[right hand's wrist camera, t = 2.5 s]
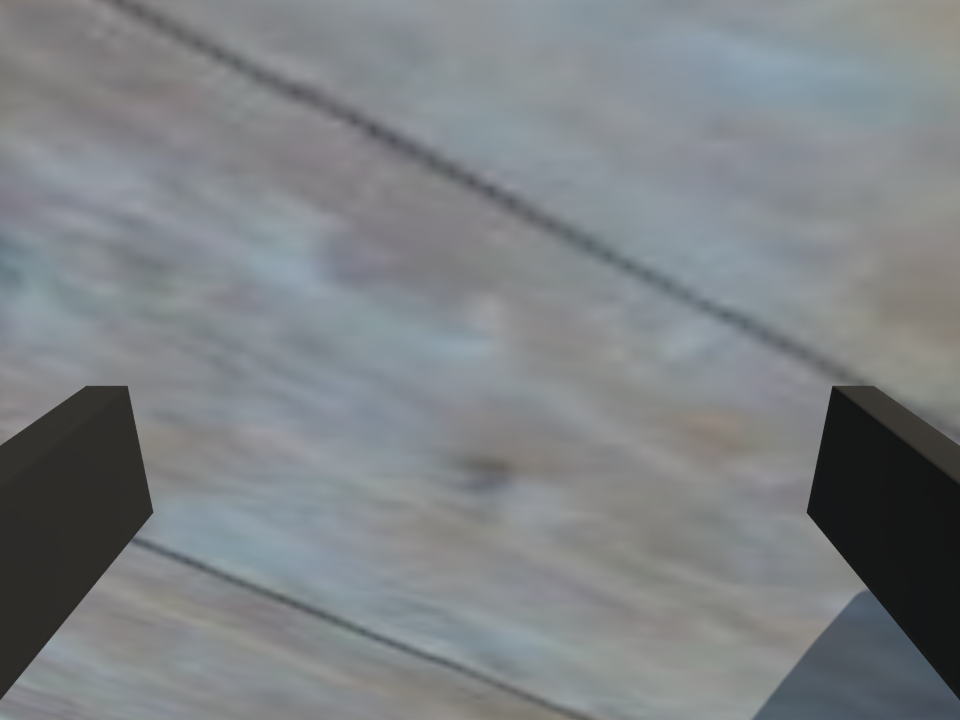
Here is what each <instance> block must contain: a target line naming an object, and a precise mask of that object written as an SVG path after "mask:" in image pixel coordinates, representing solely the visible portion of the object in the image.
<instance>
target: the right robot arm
mask: <svg viewBox="0 0 960 720" xmlns="http://www.w3.org/2000/svg"><path fill="white" fill-rule="evenodd" d="M152 514H153V509H152V504H151V499H150V494H149V489H148V484H147V479H146V474H145V469H144V465H143V460H142V455H141V450H140V445H139V440H138V435H137V430H136V425H135V420H134V415H133V411H132V406H131V401H130V396H129V391H128V386H86V387H84V388H83V389H81V390H80V391H78V392H77V393H76V394H74V395H73V396H71V397H70V398H68V399H67V400H65V401H64V402H63V403H61V404H60V405H58V406H57V407H55V408H54V409H52V410H51V411H50V412H48V413H47V414H45V415H44V416H42V417H41V418H40V419H38V420H37V421H35V422H34V423H32V424H31V425H29V426H28V427H27V428H25V429H24V430H22V431H21V432H19V433H18V434H17V435H15V436H14V437H12V438H11V439H9V440H8V441H6V442H5V443H4V444H2V445H1V446H0V700H1V698H2V697H3V696H4V695H5V694H6V692H7V691H8V690H9V689H10V687H11V686H12V685H13V684H14V683H15V681H16V680H17V679H18V678H19V676H20V675H21V674H22V673H23V672H24V670H25V669H26V668H27V667H28V665H29V664H30V663H31V662H32V660H33V659H34V658H35V657H36V656H37V654H38V653H39V652H40V651H41V649H42V648H43V647H44V646H45V645H46V643H47V642H48V641H49V640H50V638H51V637H52V636H53V635H54V634H55V632H56V631H57V630H58V629H59V627H60V626H61V625H62V624H63V623H64V621H65V620H66V619H67V618H68V616H69V615H70V614H71V613H72V612H73V610H74V609H75V608H76V607H77V605H78V604H79V603H80V602H81V600H82V599H83V598H84V597H85V596H86V594H87V593H88V592H89V591H90V589H91V588H92V587H93V586H94V585H95V583H96V582H97V581H98V580H99V578H100V577H101V576H102V575H103V574H104V572H105V571H106V570H107V569H108V567H109V566H110V565H111V564H112V563H113V561H114V560H115V559H116V558H117V556H118V555H119V554H120V553H121V551H122V550H123V549H124V548H125V547H126V545H127V544H128V543H129V542H130V540H131V539H132V538H133V537H134V536H135V534H136V533H137V532H138V531H139V529H140V528H141V527H142V526H143V525H144V523H145V522H146V521H147V520H148V518H149V517H150V516H151V515H152ZM807 514H808V515H809V516H810V517H811V518H812V520H813V521H814V522H815V523H816V525H817V526H818V527H819V528H820V529H821V531H822V532H823V533H824V534H825V536H826V537H827V538H828V539H829V540H830V542H831V543H832V544H833V545H834V547H835V548H836V549H837V550H838V551H839V553H840V554H841V555H842V556H843V558H844V559H845V560H846V561H847V563H848V564H849V565H850V566H851V567H852V569H853V570H854V571H855V572H856V574H857V575H858V576H859V577H860V578H861V580H862V581H863V582H864V583H865V585H866V586H867V587H868V588H869V589H870V591H871V592H872V593H873V594H874V596H875V597H876V598H877V599H878V600H879V602H880V603H881V604H882V605H883V607H884V608H885V609H886V610H887V612H888V613H889V614H890V615H891V616H892V618H893V619H894V620H895V621H896V623H897V624H898V625H899V626H900V627H901V629H902V630H903V631H904V632H905V634H906V635H907V636H908V637H909V638H910V640H911V641H912V642H913V643H914V645H915V646H916V647H917V648H918V649H919V651H920V652H921V653H922V654H923V656H924V657H925V658H926V659H927V660H928V662H929V663H930V664H931V665H932V667H933V668H934V669H935V670H936V672H937V673H938V674H939V675H940V676H941V678H942V679H943V680H944V681H945V683H946V684H947V685H948V686H949V687H950V689H951V690H952V691H953V692H954V694H955V695H956V696H957V697H958V698H959V700H960V446H959V445H958V444H956V443H955V442H954V441H952V440H951V439H949V438H948V437H946V436H945V435H943V434H942V433H941V432H939V431H938V430H936V429H935V428H933V427H932V426H931V425H929V424H928V423H926V422H925V421H923V420H922V419H920V418H919V417H918V416H916V415H915V414H913V413H912V412H910V411H909V410H908V409H906V408H905V407H903V406H902V405H900V404H899V403H897V402H896V401H895V400H893V399H892V398H890V397H889V396H887V395H886V394H884V393H883V392H882V391H880V390H879V389H877V388H876V387H874V386H832V391H831V396H830V401H829V406H828V411H827V415H826V420H825V425H824V430H823V435H822V440H821V445H820V450H819V455H818V460H817V465H816V469H815V474H814V479H813V484H812V489H811V494H810V499H809V504H808V509H807Z"/></svg>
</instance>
